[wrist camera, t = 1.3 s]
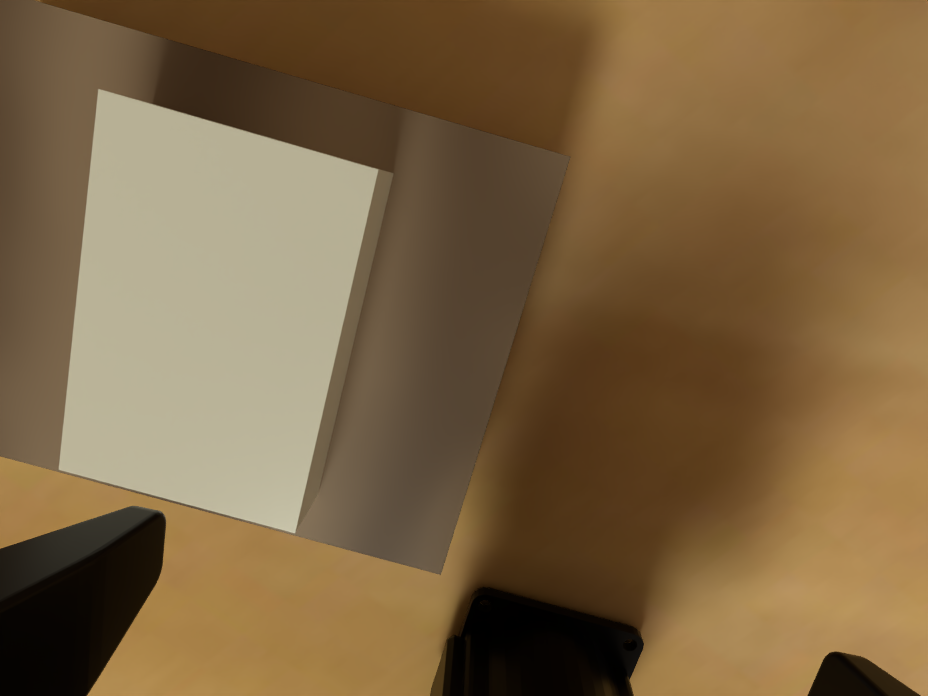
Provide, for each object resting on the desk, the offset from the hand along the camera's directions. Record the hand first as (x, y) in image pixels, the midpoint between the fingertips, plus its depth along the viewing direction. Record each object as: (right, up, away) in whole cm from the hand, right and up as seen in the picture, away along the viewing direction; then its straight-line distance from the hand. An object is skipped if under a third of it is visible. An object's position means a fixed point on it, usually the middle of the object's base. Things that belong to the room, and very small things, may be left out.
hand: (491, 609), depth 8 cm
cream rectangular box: (-6, +4, +7) cm, 11 cm away
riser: (-7, +6, +11) cm, 14 cm away
